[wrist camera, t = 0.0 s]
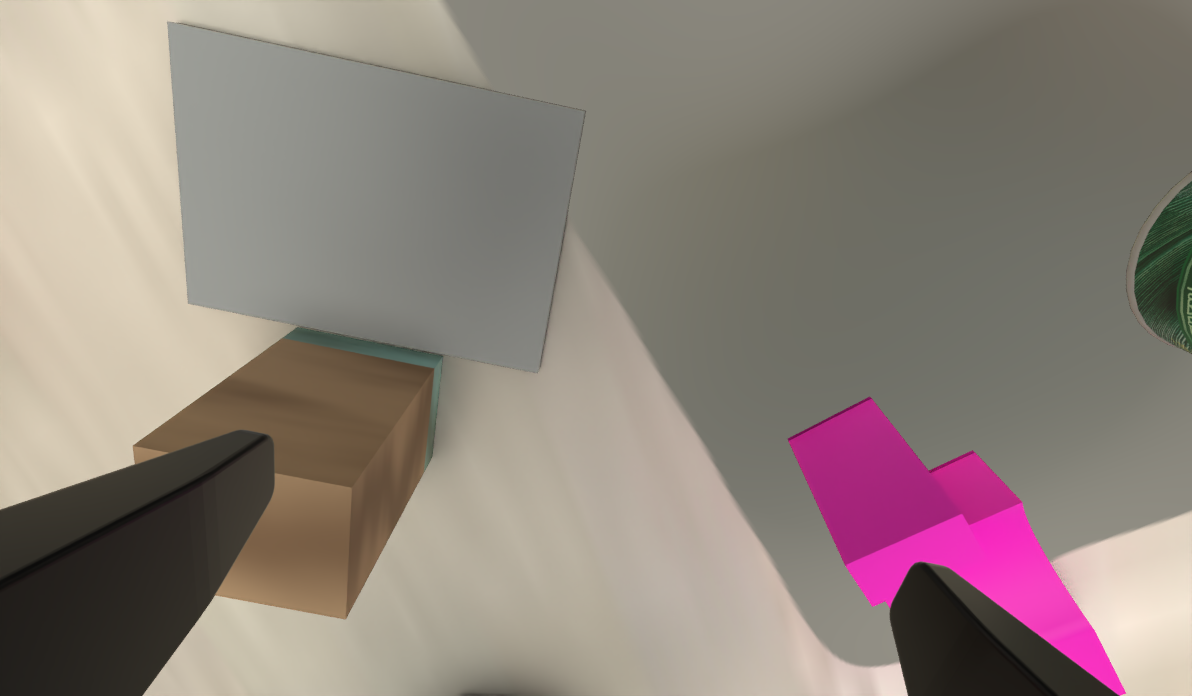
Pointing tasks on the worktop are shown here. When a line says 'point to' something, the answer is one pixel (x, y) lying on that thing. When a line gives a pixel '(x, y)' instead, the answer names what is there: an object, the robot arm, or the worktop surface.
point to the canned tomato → (1165, 269)
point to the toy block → (936, 527)
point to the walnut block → (320, 460)
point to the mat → (369, 197)
